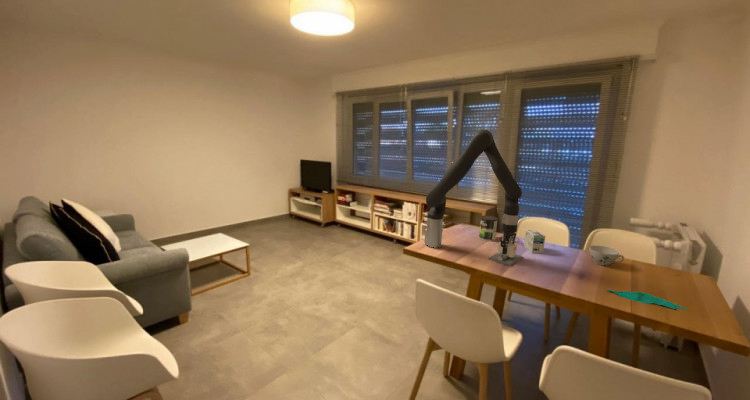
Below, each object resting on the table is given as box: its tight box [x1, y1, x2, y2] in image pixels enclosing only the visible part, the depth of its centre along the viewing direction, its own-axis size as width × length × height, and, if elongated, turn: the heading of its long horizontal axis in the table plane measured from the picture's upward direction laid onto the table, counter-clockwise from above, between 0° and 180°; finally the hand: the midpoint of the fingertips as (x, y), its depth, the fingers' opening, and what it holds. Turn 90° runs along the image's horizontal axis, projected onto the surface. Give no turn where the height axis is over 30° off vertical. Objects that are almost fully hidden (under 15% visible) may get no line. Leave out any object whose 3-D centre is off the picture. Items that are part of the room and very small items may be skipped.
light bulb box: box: [523, 229, 546, 254], centre depth 182 cm, size 11×7×11 cm, turn 179°
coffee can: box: [478, 215, 499, 242], centre depth 201 cm, size 10×10×14 cm
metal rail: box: [497, 254, 509, 261], centre depth 169 cm, size 3×14×1 cm, turn 132°
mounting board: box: [487, 252, 525, 267], centre depth 169 cm, size 12×16×1 cm
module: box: [496, 241, 518, 258], centre depth 168 cm, size 8×4×6 cm, turn 42°
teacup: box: [589, 245, 625, 267], centre depth 164 cm, size 15×12×8 cm
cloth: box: [606, 289, 688, 311], centre depth 129 cm, size 26×14×2 cm, turn 45°
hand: (506, 252), depth 168 cm, fingers closed on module, 4 cm apart
